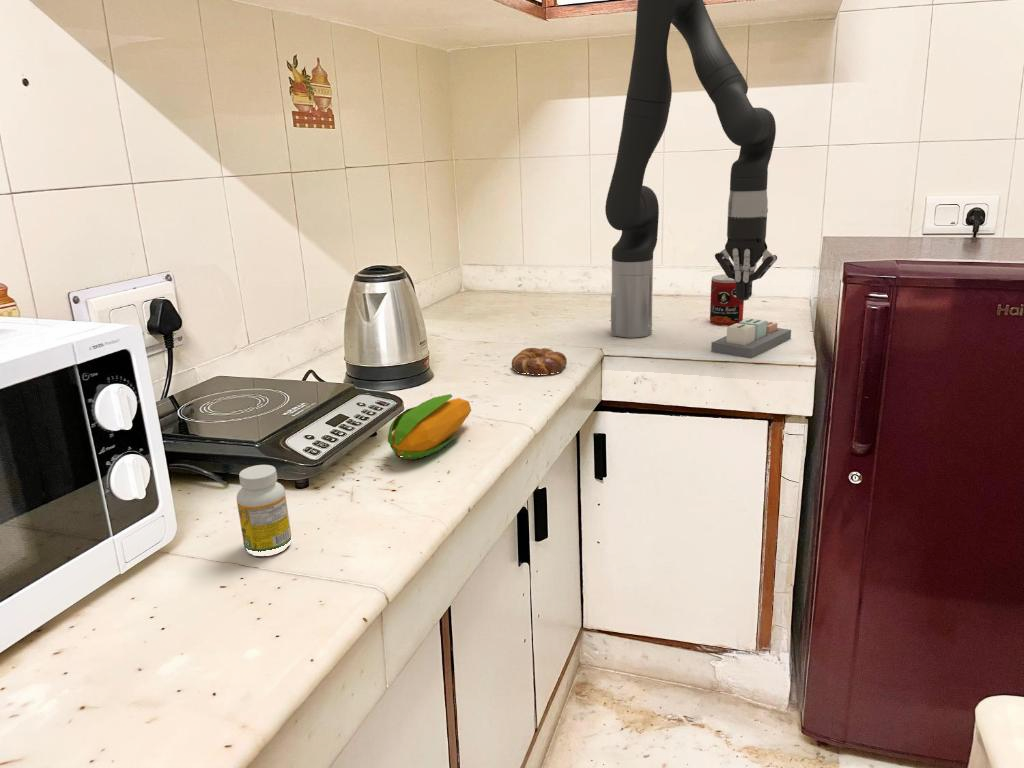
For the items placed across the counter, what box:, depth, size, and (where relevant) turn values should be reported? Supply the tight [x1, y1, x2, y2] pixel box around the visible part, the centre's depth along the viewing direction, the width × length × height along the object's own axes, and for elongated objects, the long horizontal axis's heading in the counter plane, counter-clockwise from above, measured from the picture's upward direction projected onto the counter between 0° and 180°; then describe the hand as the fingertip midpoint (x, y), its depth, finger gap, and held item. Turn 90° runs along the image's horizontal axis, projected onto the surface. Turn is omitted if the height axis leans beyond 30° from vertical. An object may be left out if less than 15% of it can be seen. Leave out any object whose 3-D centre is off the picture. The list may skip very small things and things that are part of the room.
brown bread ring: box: [511, 347, 568, 375], centre depth 154 cm, size 12×11×4 cm
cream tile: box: [726, 323, 755, 345], centre depth 160 cm, size 4×4×4 cm
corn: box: [387, 393, 472, 461], centre depth 117 cm, size 7×8×20 cm
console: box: [710, 327, 792, 359], centre depth 164 cm, size 9×19×2 cm, turn 138°
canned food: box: [709, 274, 745, 326], centre depth 183 cm, size 8×8×11 cm
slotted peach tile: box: [766, 321, 778, 334], centre depth 168 cm, size 4×4×4 cm
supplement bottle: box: [236, 464, 292, 552], centre depth 88 cm, size 5×5×10 cm
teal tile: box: [739, 317, 768, 340], centre depth 164 cm, size 4×4×4 cm
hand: (743, 299), depth 157 cm, fingers closed
